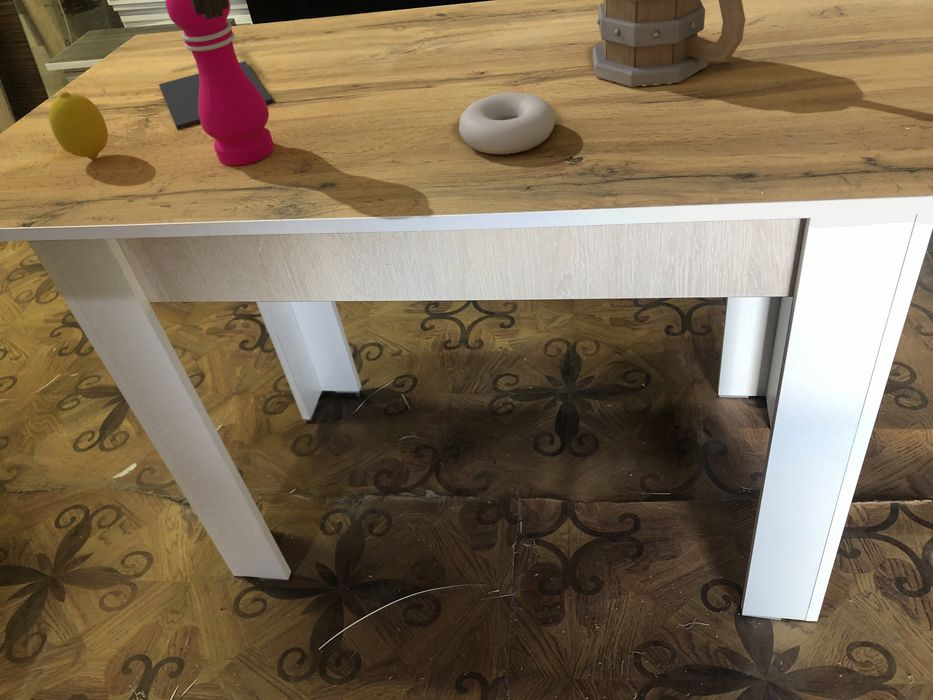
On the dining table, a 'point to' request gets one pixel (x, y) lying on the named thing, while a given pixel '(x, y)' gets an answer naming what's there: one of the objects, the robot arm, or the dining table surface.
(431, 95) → the dining table surface
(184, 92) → the mat
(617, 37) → the tankard
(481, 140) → the donut
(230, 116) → the pepper mill
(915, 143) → the dining table surface
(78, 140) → the lemon
